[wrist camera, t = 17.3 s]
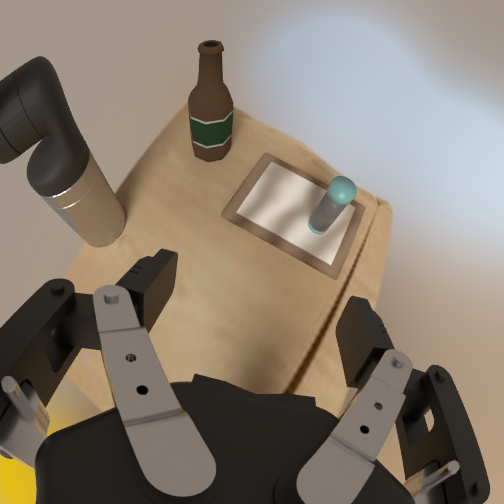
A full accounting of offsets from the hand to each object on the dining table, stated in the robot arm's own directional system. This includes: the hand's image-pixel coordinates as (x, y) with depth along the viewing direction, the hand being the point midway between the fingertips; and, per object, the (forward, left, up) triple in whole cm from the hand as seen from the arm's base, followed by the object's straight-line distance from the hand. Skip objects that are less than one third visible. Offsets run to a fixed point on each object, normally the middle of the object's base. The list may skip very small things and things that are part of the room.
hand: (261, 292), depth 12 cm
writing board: (-1, +24, -31) cm, 39 cm away
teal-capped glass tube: (+3, +23, -29) cm, 37 cm away
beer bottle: (-22, +28, -31) cm, 47 cm away
